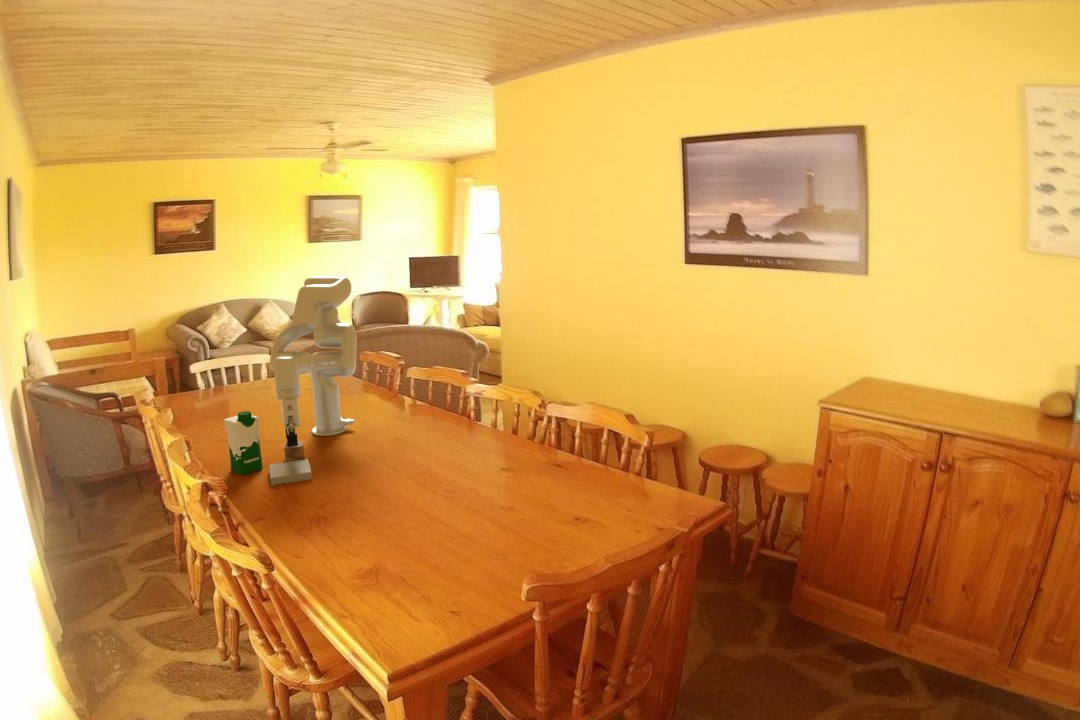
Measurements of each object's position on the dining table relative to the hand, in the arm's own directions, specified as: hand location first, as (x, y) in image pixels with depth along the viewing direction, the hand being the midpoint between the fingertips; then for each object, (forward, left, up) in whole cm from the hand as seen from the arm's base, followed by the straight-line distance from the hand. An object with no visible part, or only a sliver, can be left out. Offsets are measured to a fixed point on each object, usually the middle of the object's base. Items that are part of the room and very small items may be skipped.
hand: (291, 441), depth 215 cm
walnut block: (0, -1, -7) cm, 7 cm away
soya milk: (+15, +1, -7) cm, 16 cm away
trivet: (+2, +12, -7) cm, 14 cm away
